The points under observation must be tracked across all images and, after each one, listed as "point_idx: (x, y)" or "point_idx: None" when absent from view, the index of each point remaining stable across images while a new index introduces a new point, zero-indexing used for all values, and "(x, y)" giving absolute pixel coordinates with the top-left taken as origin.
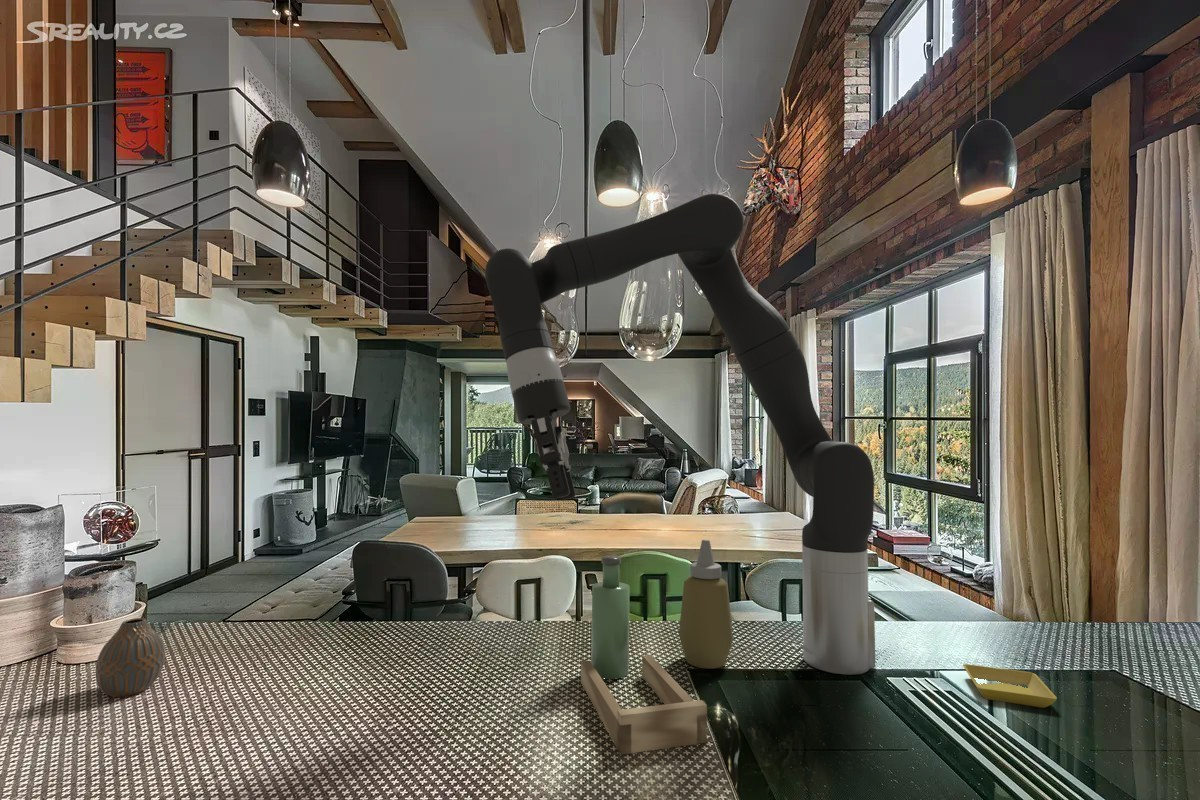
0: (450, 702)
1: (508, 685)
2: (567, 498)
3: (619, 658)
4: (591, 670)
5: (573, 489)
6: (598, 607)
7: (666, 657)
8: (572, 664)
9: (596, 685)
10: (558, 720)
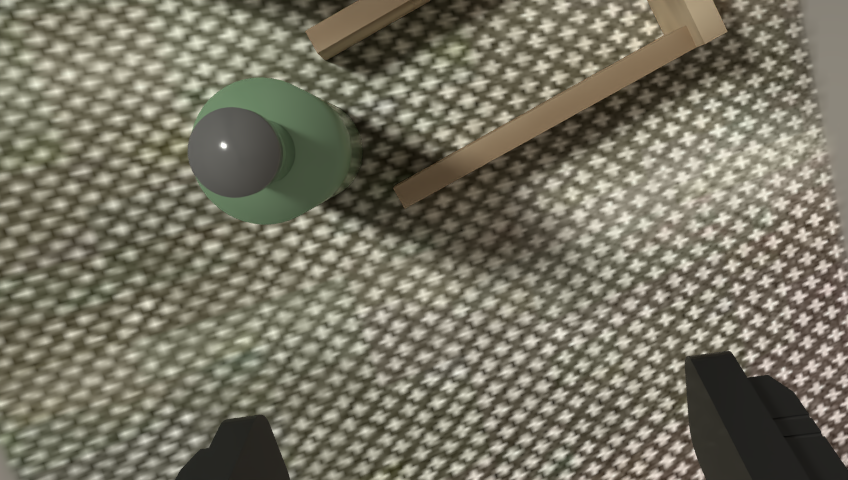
0: (567, 450)
1: (456, 366)
2: (280, 454)
3: (344, 115)
4: (455, 167)
5: (247, 444)
6: (336, 182)
7: (166, 13)
8: (294, 257)
9: (540, 133)
10: (589, 202)
